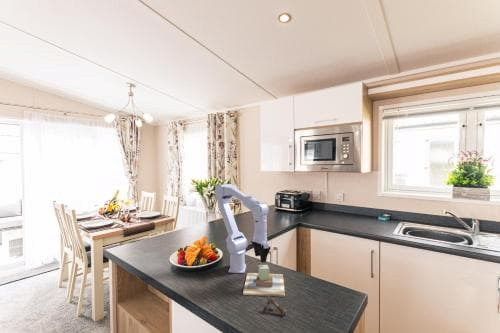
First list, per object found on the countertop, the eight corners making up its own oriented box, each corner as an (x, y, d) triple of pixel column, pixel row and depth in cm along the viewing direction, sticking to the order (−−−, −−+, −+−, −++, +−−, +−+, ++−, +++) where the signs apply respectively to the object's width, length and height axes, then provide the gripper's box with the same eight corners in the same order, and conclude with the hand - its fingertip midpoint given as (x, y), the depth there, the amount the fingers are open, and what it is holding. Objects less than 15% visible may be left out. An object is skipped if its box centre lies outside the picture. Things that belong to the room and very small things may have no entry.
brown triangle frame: (265, 303, 91) (269, 293, 89) (282, 319, 86) (286, 309, 85) (262, 305, 89) (266, 295, 88) (279, 321, 85) (284, 312, 84)
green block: (258, 276, 108) (258, 265, 108) (267, 275, 108) (267, 264, 108) (260, 280, 104) (260, 269, 104) (269, 279, 104) (269, 268, 104)
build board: (247, 274, 116) (247, 268, 116) (282, 276, 114) (282, 269, 114) (243, 294, 98) (243, 287, 98) (285, 296, 96) (285, 289, 96)
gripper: (247, 226, 117) (247, 254, 117) (257, 234, 103) (257, 266, 103) (261, 225, 119) (261, 252, 119) (272, 233, 105) (272, 264, 105)
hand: (260, 258), depth 111 cm, fingers open, 7 cm apart
